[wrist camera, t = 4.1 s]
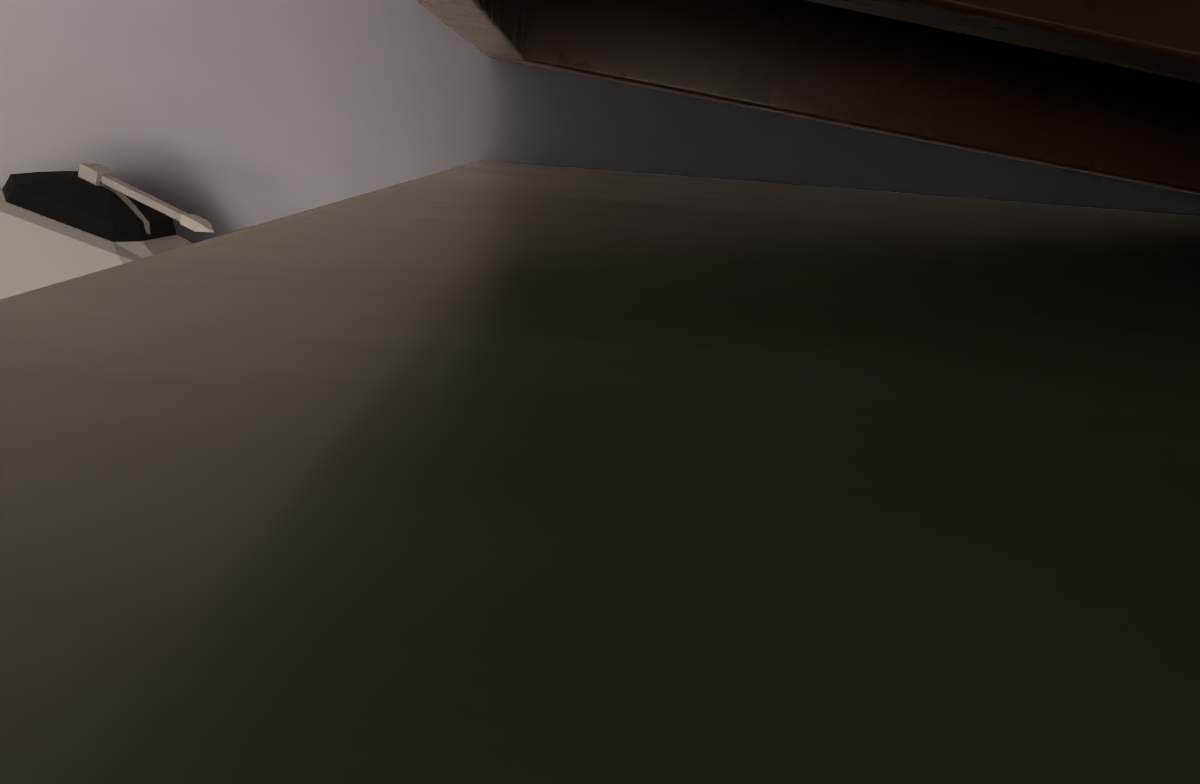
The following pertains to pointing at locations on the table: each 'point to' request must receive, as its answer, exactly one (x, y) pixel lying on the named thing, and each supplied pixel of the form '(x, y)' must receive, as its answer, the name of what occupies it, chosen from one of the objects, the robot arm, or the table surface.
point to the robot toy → (80, 226)
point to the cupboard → (898, 68)
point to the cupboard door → (610, 493)
